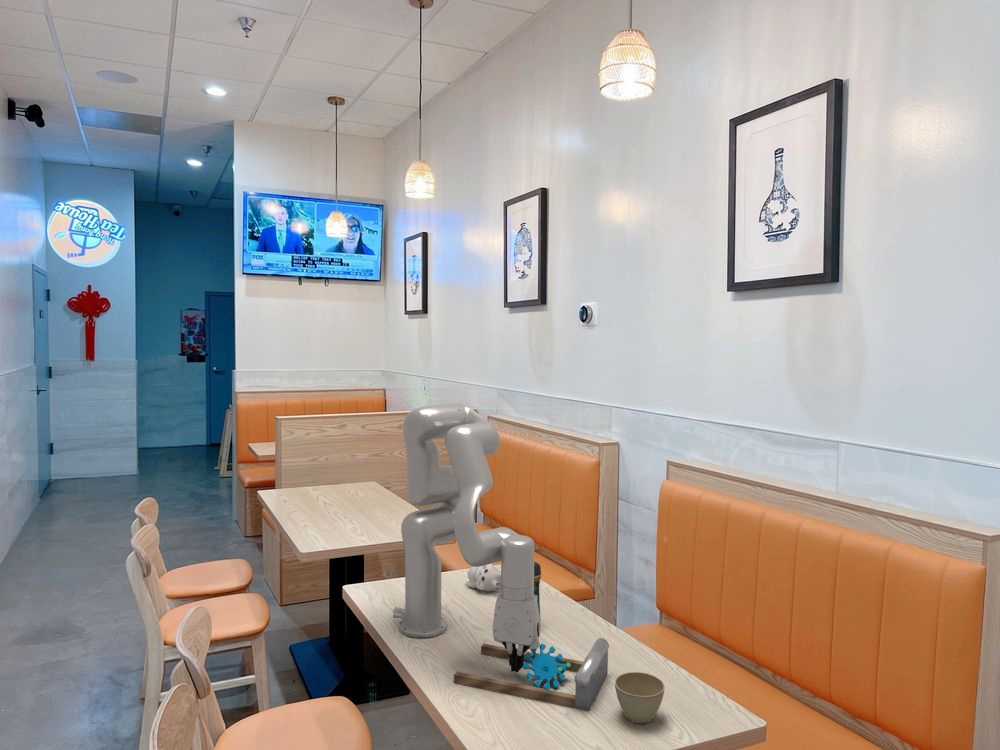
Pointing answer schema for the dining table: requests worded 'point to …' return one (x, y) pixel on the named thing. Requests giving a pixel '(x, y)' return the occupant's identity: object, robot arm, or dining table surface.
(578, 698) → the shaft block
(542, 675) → the gear
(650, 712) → the flower pot
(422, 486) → the robot arm
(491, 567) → the cat figurine
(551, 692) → the guide
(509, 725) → the dining table surface
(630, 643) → the dining table surface
